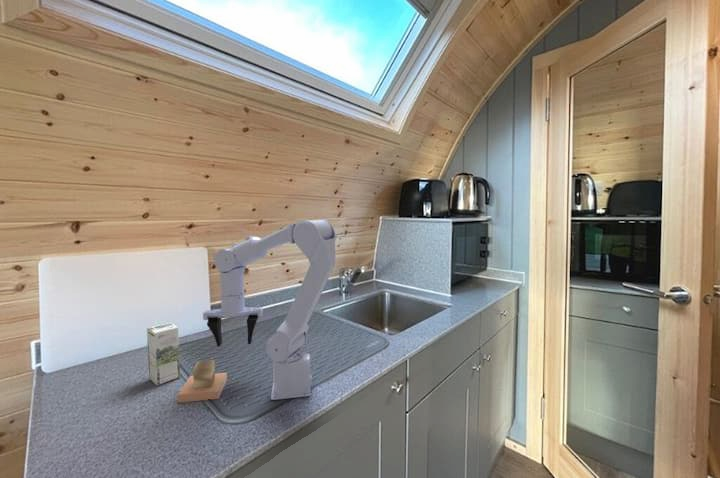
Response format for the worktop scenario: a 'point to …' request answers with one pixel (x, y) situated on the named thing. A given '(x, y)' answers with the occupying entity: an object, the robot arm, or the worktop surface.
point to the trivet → (202, 389)
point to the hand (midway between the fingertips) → (234, 343)
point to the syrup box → (163, 353)
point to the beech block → (204, 374)
